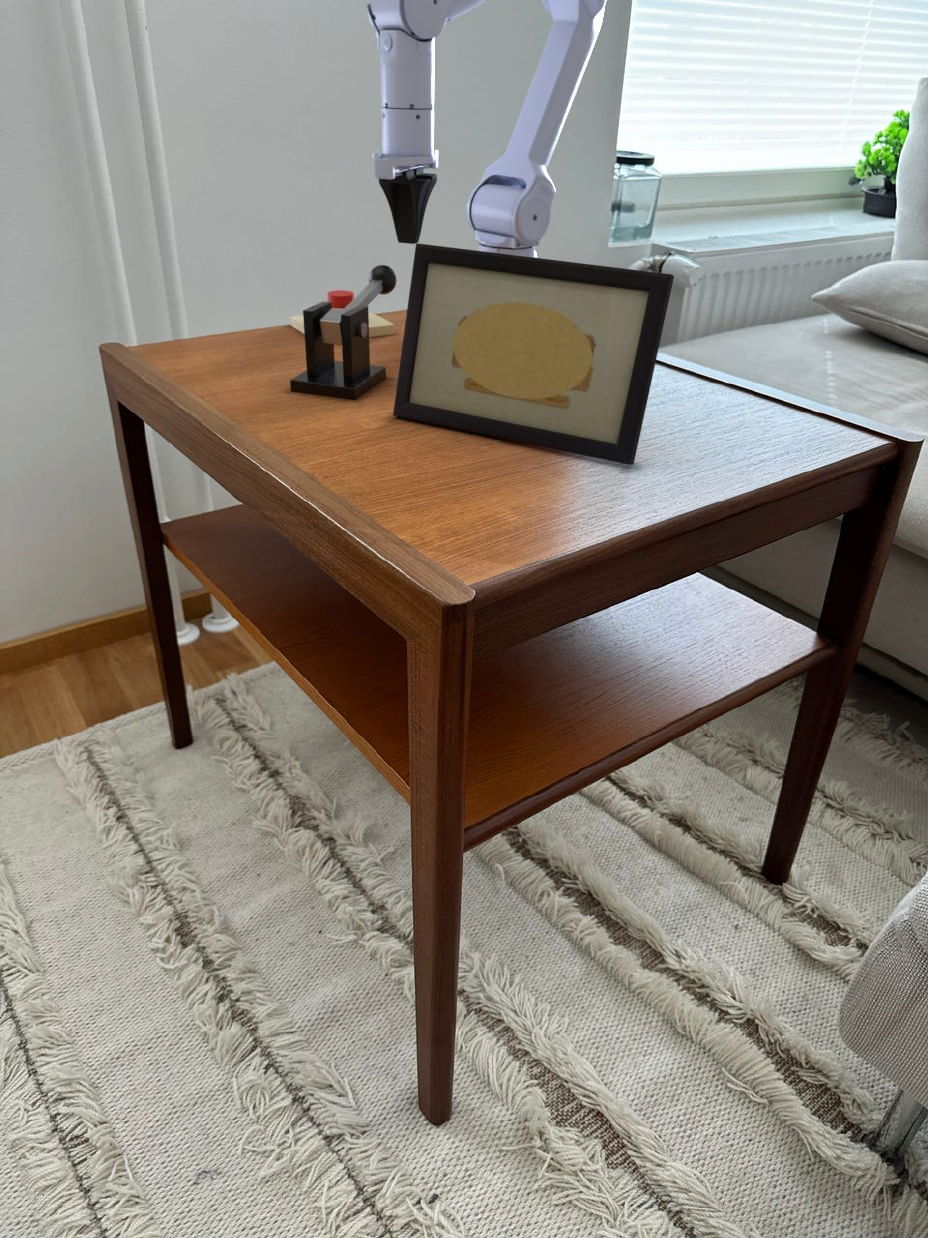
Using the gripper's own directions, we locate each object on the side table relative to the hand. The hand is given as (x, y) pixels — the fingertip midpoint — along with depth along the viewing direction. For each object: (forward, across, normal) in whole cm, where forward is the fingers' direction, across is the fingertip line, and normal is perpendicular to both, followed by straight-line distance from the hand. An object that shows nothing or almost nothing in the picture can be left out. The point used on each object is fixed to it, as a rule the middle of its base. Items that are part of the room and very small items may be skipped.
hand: (408, 242), depth 104 cm
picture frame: (+11, +27, +22) cm, 36 cm away
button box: (+10, +2, -8) cm, 13 cm away
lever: (+5, +16, +1) cm, 17 cm away
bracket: (+10, +22, +1) cm, 24 cm away
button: (+8, +2, -8) cm, 11 cm away
